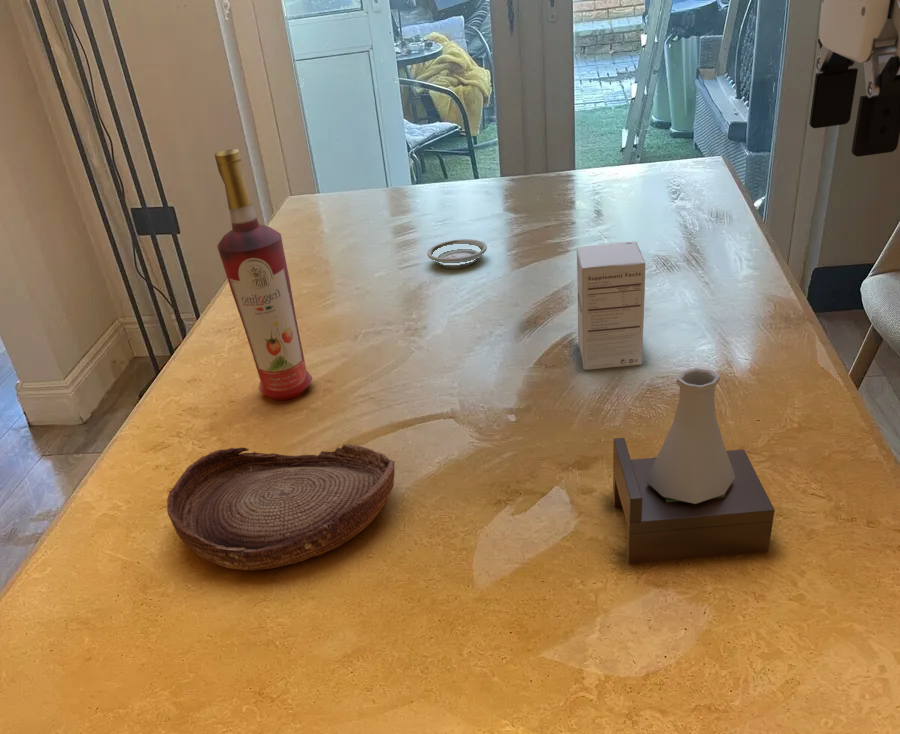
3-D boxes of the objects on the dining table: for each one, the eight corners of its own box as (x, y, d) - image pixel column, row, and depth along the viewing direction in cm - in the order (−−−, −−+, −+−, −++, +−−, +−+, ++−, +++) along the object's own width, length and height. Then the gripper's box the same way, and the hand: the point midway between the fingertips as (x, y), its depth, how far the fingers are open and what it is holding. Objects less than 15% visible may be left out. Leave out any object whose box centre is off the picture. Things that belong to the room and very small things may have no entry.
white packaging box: (577, 346, 109) (575, 245, 101) (635, 340, 109) (638, 239, 100) (581, 371, 104) (580, 267, 96) (643, 366, 103) (647, 260, 95)
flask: (696, 515, 71) (706, 407, 64) (630, 484, 75) (633, 380, 69) (750, 479, 74) (764, 373, 68) (683, 451, 79) (690, 349, 72)
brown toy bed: (738, 489, 81) (747, 425, 77) (768, 552, 73) (779, 485, 69) (612, 501, 82) (613, 438, 78) (628, 564, 74) (630, 498, 70)
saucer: (500, 259, 137) (499, 244, 136) (456, 278, 133) (454, 262, 131) (460, 249, 143) (458, 234, 142) (417, 267, 139) (415, 252, 137)
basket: (392, 450, 94) (385, 410, 91) (411, 557, 79) (403, 513, 76) (191, 485, 93) (176, 446, 90) (170, 600, 78) (152, 557, 75)
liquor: (315, 375, 112) (261, 140, 94) (317, 400, 106) (260, 154, 88) (260, 384, 111) (195, 150, 93) (259, 410, 106) (189, 165, 88)
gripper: (1018, -155, 50) (946, 158, 61) (899, -147, 64) (857, 110, 75) (888, -134, 51) (840, 173, 62) (797, -130, 64) (771, 122, 75)
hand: (850, 138), depth 68 cm, fingers open, 9 cm apart
